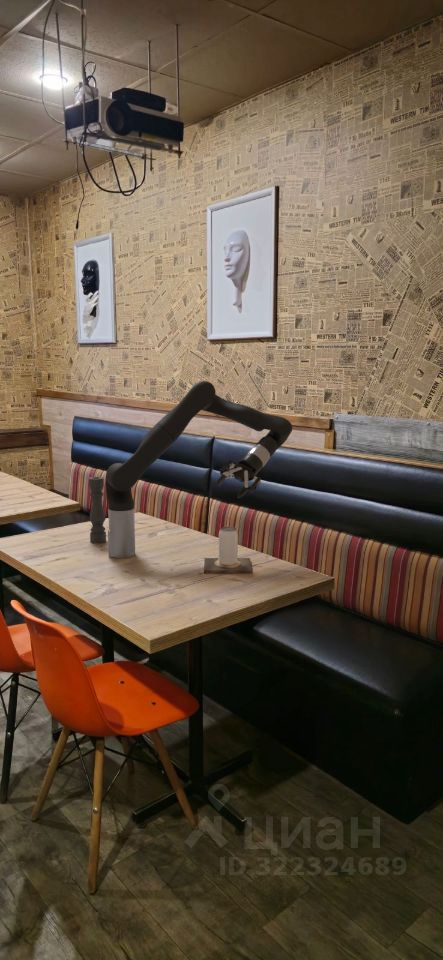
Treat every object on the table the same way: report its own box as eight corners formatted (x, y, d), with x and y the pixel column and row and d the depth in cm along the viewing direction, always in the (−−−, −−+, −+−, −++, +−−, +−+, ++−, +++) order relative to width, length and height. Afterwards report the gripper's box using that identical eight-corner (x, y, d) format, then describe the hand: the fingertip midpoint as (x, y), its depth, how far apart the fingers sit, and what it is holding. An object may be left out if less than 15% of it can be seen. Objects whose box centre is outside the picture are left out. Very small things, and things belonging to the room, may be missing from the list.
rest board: (203, 573, 222) (203, 569, 222) (204, 560, 236) (204, 556, 236) (251, 573, 222) (251, 569, 222) (249, 560, 236) (250, 556, 236)
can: (238, 560, 232) (238, 526, 230) (236, 566, 226) (236, 531, 223) (219, 559, 233) (220, 526, 230) (217, 565, 226) (217, 530, 224)
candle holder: (104, 543, 258) (102, 479, 253) (88, 543, 258) (86, 479, 253) (107, 539, 264) (105, 476, 259) (91, 539, 264) (89, 476, 259)
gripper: (238, 444, 238) (211, 474, 230) (271, 462, 233) (244, 494, 225) (238, 457, 244) (212, 487, 237) (271, 475, 239) (244, 506, 231)
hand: (228, 490), depth 231 cm, fingers open, 8 cm apart
